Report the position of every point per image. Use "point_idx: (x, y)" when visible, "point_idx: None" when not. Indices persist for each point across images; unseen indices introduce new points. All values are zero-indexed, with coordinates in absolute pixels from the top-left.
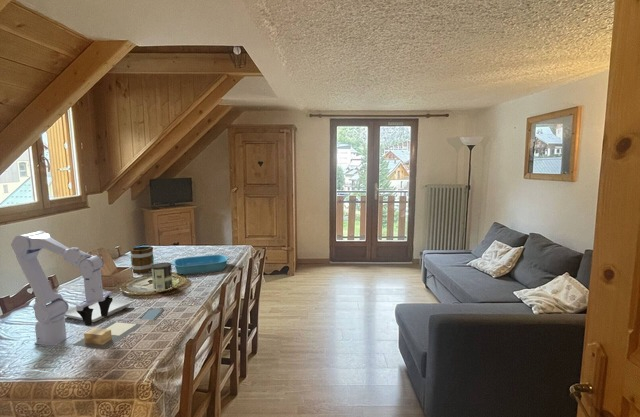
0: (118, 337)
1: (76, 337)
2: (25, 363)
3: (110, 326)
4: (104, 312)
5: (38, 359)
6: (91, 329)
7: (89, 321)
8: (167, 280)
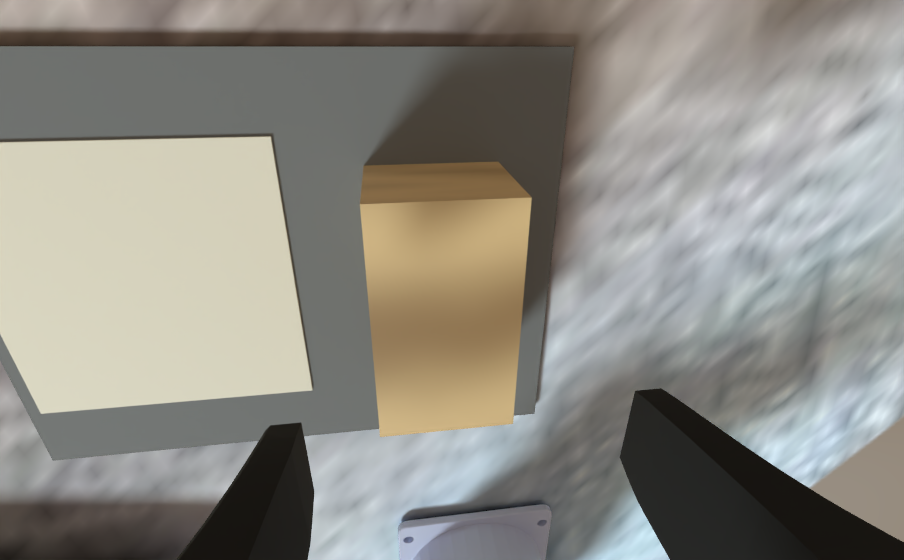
0: (309, 109)
1: (406, 484)
2: None
3: (146, 396)
4: (285, 526)
5: None
6: (420, 426)
7: (734, 445)
8: None
